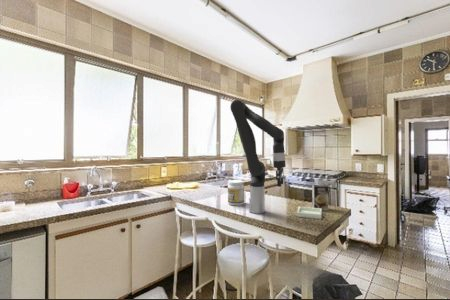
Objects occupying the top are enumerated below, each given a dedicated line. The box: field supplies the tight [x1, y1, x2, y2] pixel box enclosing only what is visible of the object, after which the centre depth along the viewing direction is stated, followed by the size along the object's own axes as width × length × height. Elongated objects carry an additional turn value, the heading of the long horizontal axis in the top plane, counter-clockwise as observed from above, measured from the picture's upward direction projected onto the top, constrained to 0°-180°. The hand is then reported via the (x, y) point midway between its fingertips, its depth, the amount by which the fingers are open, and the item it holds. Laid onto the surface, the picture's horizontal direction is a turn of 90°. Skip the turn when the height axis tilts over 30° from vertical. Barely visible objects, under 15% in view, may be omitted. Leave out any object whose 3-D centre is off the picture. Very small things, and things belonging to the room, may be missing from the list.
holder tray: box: [296, 206, 323, 220], centre depth 148 cm, size 14×14×3 cm
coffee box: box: [311, 184, 329, 212], centre depth 158 cm, size 9×6×16 cm
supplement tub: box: [227, 179, 245, 206], centre depth 176 cm, size 12×12×17 cm
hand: (280, 185), depth 150 cm, fingers open, 8 cm apart
